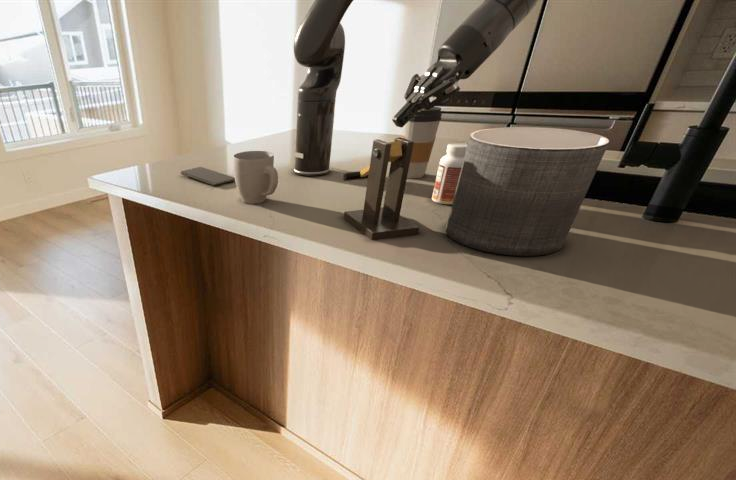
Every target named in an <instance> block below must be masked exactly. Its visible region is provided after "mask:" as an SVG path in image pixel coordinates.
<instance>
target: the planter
mask: <svg viewBox="0 0 736 480" xmlns="http://www.w3.org/2000/svg"><path fill="white" fill-rule="evenodd" d="M467 143H468V145H467V148H466V152H465V156H464V160H463V164H462V168H461V172H460V176H459V180H458V184H457V188H456V191H455V195H454V199H453V204H452V205H451V207H450V211H449V216H448V219H447V222H446V225H445V233H446V234H447V235H448V237H449V238H450V239H452V240H453V241H455V242H457V243H459V244H460V245H463V246H465V247H469V248H471V249H475V250H478V251H482V252H487V253H492V254H497V255H504V256H513V257H515V256H517V257H535V256H543V255H544V256H545V255H550V254H553V253H555V252H558V251H560V250H561V249H562V248H563V247H564V246H565V243H566V241H567V237H568V235H569V232H570V230H571V228H572V226H573V224H574V222H575V219H576V217H577V215H578V213H579V210H580V208H581V206H582V204H583V202H584V199H585V197H586V194H587V193H588V191H589V188H590V186H591V184H592V182H593V179H594V177H595V175H596V173H597V170H598V168H599V166H600V164H601V161H602V160H603V157H604V155H605V153H606V151H607V148H608V147H609V143H610V139H609V138H607V137H606V136H603V135H600V134H597V133H592V132H588V131H582V130H575V129H566V128H558V127H557V128H556V127H555V128H554V127H537V126H535V127H534V126H507V127H493V128H492V127H491V128H484V129H479V130H475V131H473V132H471V133H470V134H469V137H468V141H467Z"/></svg>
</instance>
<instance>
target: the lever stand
mask: <svg viewBox="0 0 736 480" xmlns="http://www.w3.org/2000/svg"><path fill="white" fill-rule="evenodd" d="M372 141H373V142H372V147H371V148H372V149H371V156H370V162H369V164H370V168H369V175H368V179H367V183H366V189H365V197H364V204H363V209H355V210H347V211H344V213H343V219H344V220H345V221H347V222H348V223H349V224H350V225H352V226H353V227H354V228H356V229H357V230H358V231H359V232H361V233H362V234H363V235H365V236H366V237H367V238H368V239H370V240H371V241H373V240H374V241H375V240H380V239H390V238H397V237H404V236H405V237H407V236H413V235H419V233H420V230H421V229H420V228H421V227H420V226H419V225H417V224H416V223H414V222H412V221H411V220H409V219H407V218H406V217H404V216H402V215H401V210H402V207H403V206H402V205H403V201H404V196H405V191H406V184H407V179H408V178H407V175H408V170H409V164H410V159H411V154H412V149H413V144H414V142H413V141H410V140H407V139H404V138H402V136H401V137H400V136H399V137H394V141H393V142H398V141H401V148H402V156H401V157H399V158H398V159H397V160H395V161H394V162H390V166H389V162H388V161H389V155H390V149H391V144H390V143H389V142H388V141H385V140H381V139H378V138H377V139H373V140H372ZM388 166H389V171H388ZM387 172H388V177H387ZM386 179H387V183H386ZM385 185H386V187H385ZM385 188H386V189H385ZM384 192H385V195H384ZM383 198H384V200H383ZM382 203H383V207H382Z"/></svg>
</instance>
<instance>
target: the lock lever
mask: <svg viewBox="0 0 736 480" xmlns="http://www.w3.org/2000/svg"><path fill="white" fill-rule="evenodd" d="M388 143H390V144H391V149H390V155H389V161H388V163H391V162H394V161H395V160H397V159H398V158H399V157H401V156H402V148H401V141H398V142H394V141H390V142H388ZM369 168H370V163H369V164H368V165H367V166H365V168H363V169H362V170H361V171H360V170H358V171H348V172H344V173H343V175H342V179H343V181H344V182H350V181H351V182H352V181H361V180H368V175H369Z"/></svg>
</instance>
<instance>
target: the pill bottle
mask: <svg viewBox="0 0 736 480" xmlns="http://www.w3.org/2000/svg"><path fill="white" fill-rule="evenodd" d="M467 145H468V142H450V143H448V144H447V146H446V151H445V152H446V154H445V155H443V156H442V157H441V158H440V160H439V163H438V167H437V173H436V177H435V182H434V186H433V190H432V191H433V192H432V195H431V200H432V201H433V203H435V204H440V205H447V206H448V205H450V206H452V204H453V199H454V195H455V191H456V188H457V184H458V180H459V176H460V172H461V168H462V164H463V160H464V156H465V152H466V148H467Z"/></svg>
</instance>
